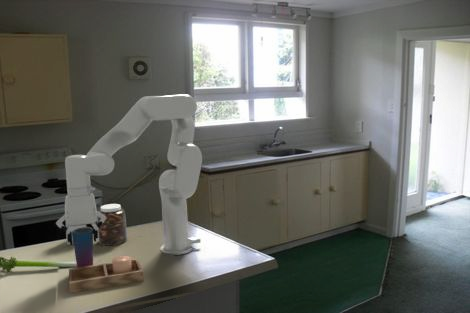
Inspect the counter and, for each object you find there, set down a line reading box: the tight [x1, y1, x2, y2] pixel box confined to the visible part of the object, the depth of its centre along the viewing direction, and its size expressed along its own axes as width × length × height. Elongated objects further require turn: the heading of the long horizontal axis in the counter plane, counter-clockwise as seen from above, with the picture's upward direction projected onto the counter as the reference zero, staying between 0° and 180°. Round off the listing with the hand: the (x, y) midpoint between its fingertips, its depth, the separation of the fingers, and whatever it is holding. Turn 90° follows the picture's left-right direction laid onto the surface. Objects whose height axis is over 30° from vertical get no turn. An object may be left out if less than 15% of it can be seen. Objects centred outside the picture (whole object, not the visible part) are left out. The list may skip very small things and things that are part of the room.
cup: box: [72, 226, 94, 268], centre depth 150 cm, size 7×7×15 cm
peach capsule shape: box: [112, 255, 132, 275], centre depth 143 cm, size 6×6×6 cm
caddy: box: [68, 258, 144, 294], centre depth 142 cm, size 22×12×4 cm, turn 111°
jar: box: [96, 203, 128, 247], centre depth 182 cm, size 12×12×15 cm
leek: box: [0, 256, 77, 274], centre depth 154 cm, size 6×7×30 cm
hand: (83, 241), depth 149 cm, fingers open, 7 cm apart
